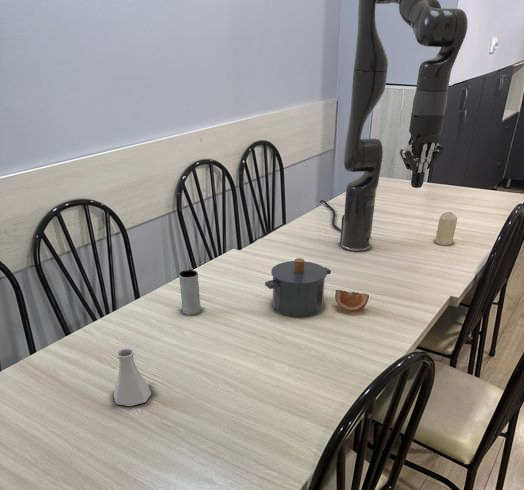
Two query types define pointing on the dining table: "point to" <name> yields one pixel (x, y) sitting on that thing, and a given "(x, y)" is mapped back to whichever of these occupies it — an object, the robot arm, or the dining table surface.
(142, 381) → the flask
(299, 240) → the dining table surface
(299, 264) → the pot lid
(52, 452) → the dining table surface
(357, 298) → the fruit slice
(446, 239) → the candle
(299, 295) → the pot
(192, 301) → the gray cylinder
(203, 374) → the dining table surface
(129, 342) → the dining table surface
